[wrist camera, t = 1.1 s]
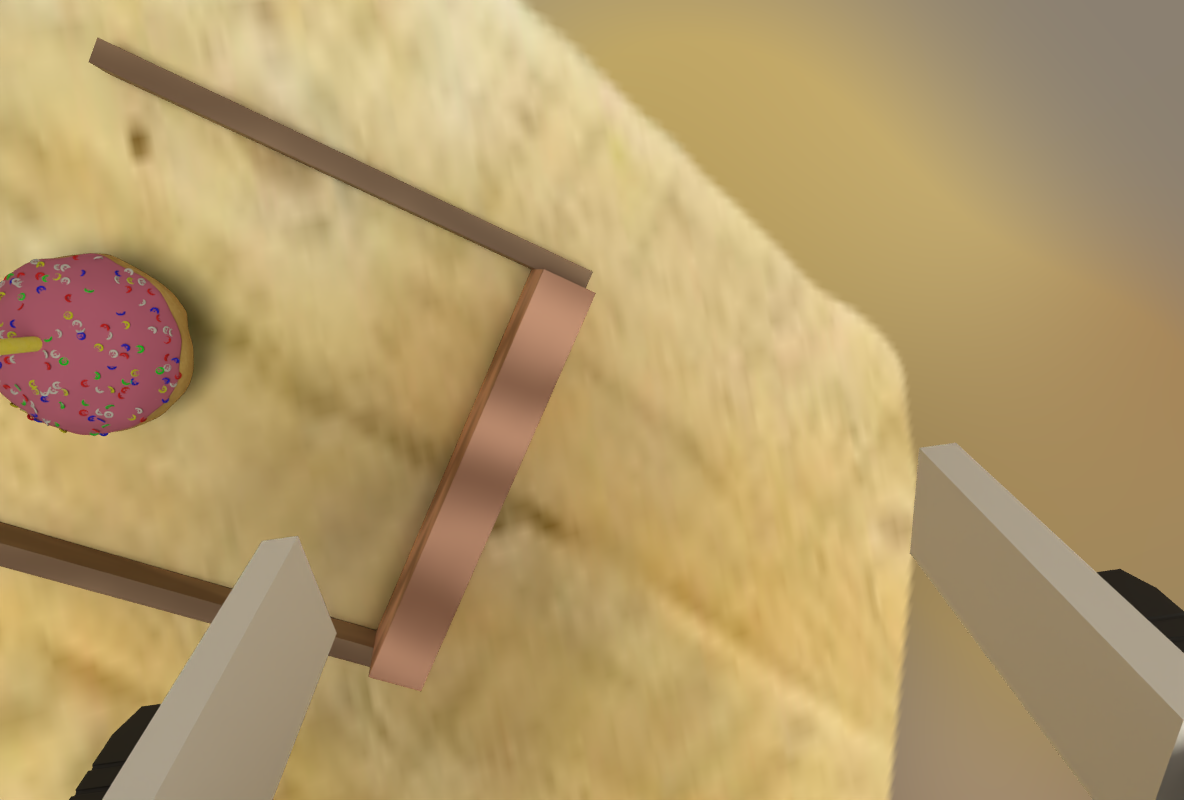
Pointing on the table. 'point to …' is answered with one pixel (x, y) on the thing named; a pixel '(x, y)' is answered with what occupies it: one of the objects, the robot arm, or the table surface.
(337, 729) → the table surface
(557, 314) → the brown wooden open frame
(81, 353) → the cupcake
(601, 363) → the table surface
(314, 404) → the table surface
